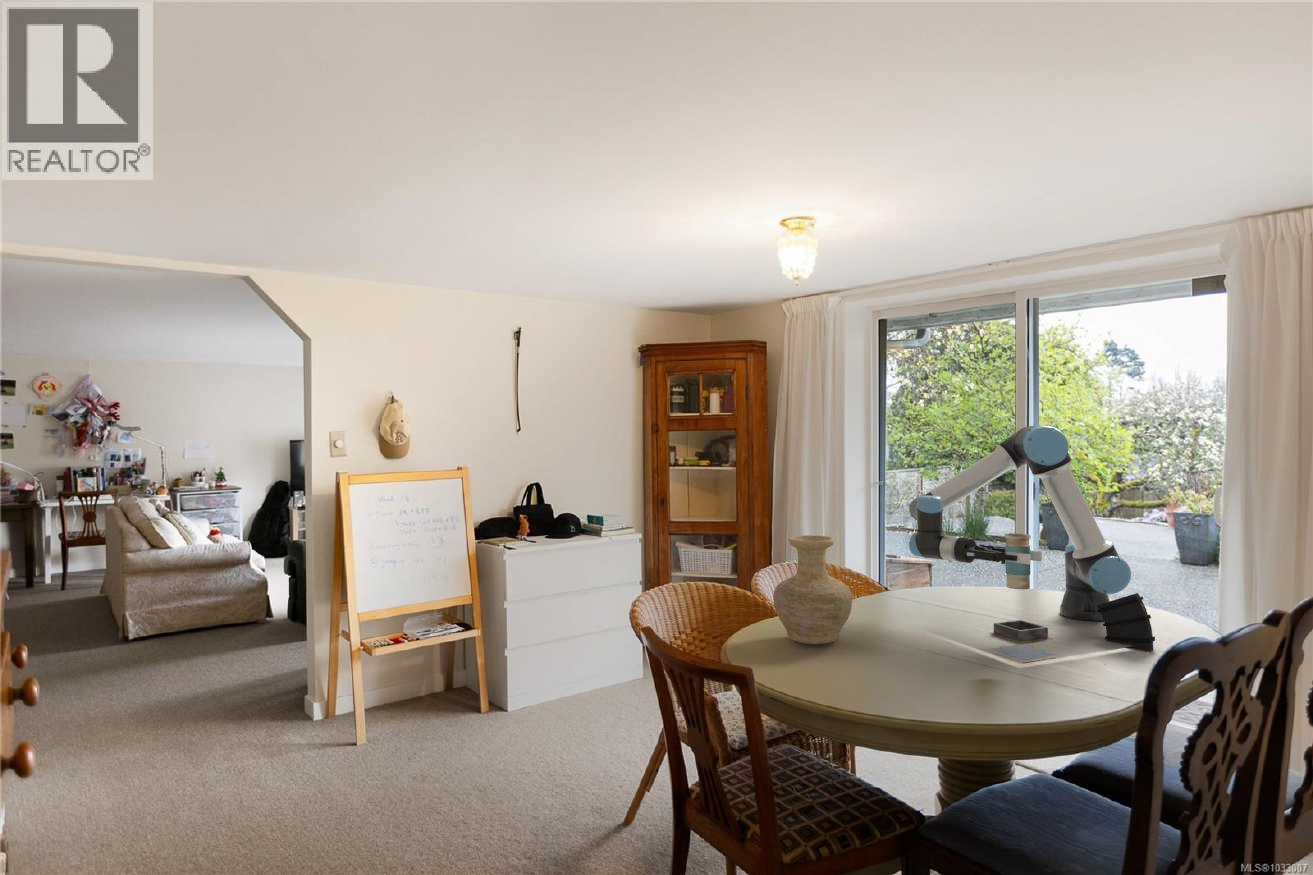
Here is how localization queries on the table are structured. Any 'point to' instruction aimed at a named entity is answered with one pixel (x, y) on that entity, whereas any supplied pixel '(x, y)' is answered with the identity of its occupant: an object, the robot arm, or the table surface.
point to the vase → (812, 595)
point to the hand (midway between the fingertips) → (1035, 557)
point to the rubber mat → (1024, 652)
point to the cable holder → (1021, 631)
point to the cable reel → (1016, 571)
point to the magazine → (1128, 622)
